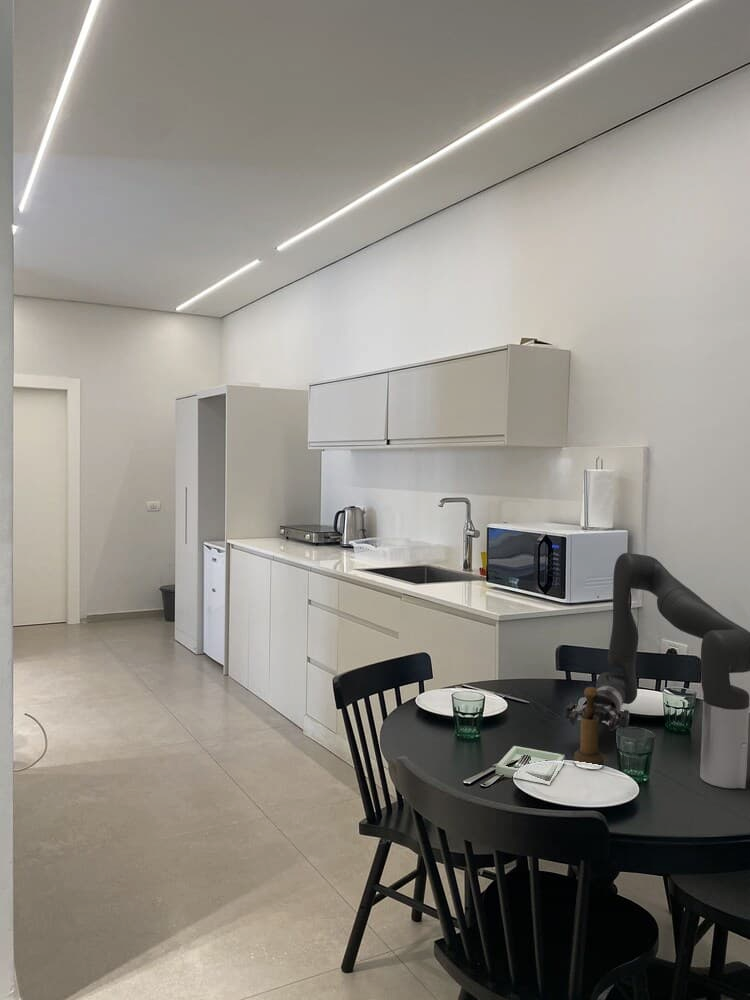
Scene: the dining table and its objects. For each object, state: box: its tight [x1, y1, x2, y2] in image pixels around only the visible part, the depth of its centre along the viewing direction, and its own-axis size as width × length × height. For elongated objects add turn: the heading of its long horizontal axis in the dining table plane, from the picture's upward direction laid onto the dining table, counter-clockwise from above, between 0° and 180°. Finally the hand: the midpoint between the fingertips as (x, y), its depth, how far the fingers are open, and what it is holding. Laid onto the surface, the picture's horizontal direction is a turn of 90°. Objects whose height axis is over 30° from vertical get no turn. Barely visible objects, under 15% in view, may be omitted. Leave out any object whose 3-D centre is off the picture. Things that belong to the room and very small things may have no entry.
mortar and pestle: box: [573, 686, 605, 765], centre depth 184 cm, size 7×6×18 cm
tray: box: [495, 745, 566, 781], centre depth 182 cm, size 12×14×2 cm
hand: (591, 723), depth 186 cm, fingers open, 8 cm apart
